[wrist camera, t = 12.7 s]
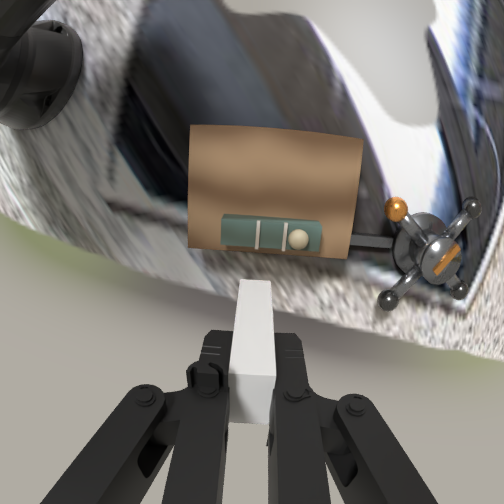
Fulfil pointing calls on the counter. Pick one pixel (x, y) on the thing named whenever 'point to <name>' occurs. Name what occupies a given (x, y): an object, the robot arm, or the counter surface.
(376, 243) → the cam foot
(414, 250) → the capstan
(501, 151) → the counter surface
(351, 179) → the stand
